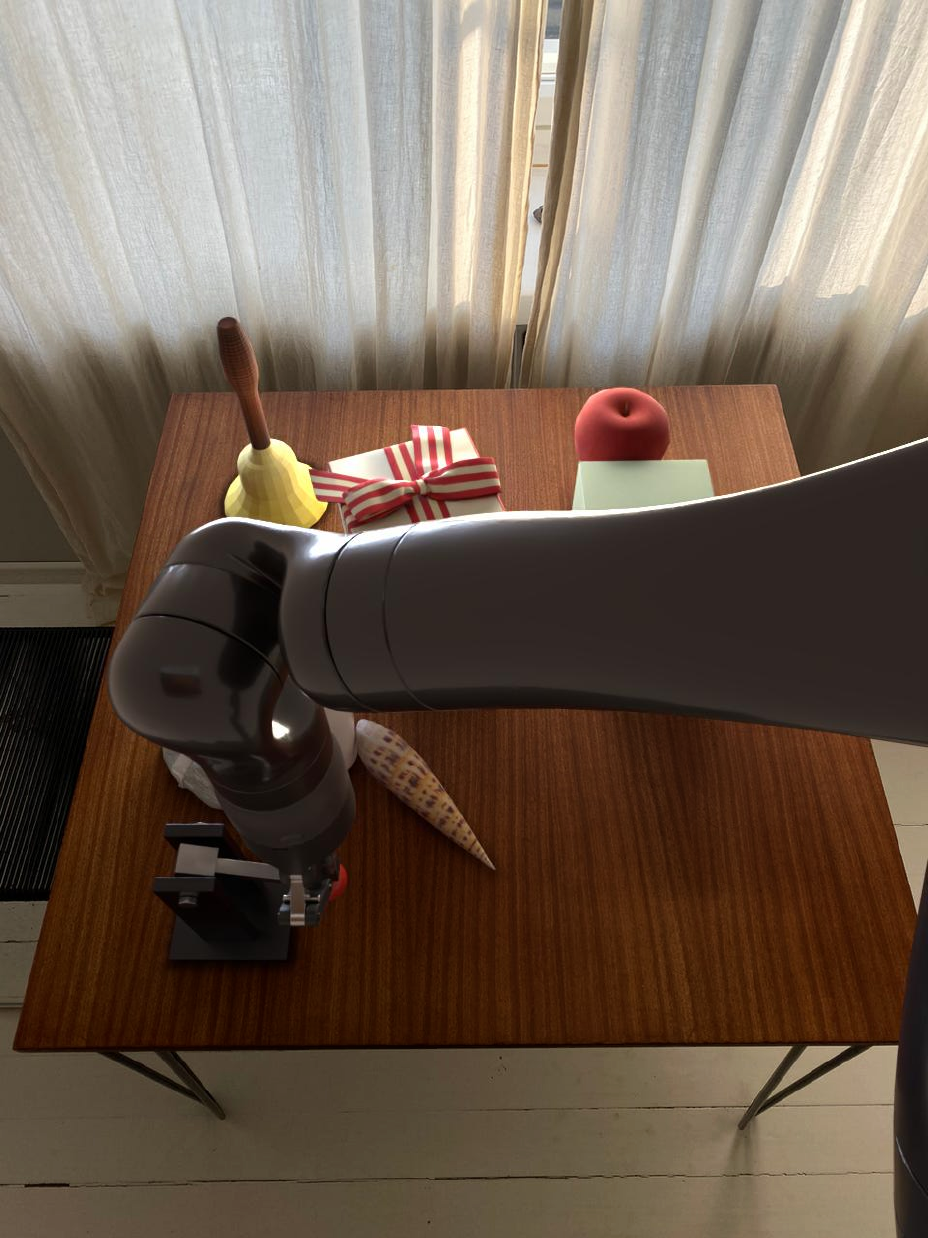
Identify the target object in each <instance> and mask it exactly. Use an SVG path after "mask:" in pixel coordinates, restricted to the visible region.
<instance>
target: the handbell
mask: <svg viewBox="0 0 928 1238" xmlns="http://www.w3.org/2000/svg"><path fill="white" fill-rule="evenodd" d="M215 330H216V341H217V342H216V344H217V346H216V347H217V355H218V358H219V361H220V366H221V369H222V372H223V377H224V378H225V380H226V382H227V384H228V385H229V386H230V387H231V389H232V391H233V392H234V394H235V396H236V398H237V401H238V405H239V407H240V411H241V414H242V417H243V421H244V426H245V429H246V431H247V435H248V439H249V442H250V443H248V445H246V446H245V447H244V448H243V449H242V451H241V452H240V453H239V456H238V459H237V472H238V476H237V477H235V479H234V480H233V481H232V483H231V484H230V486H229V488H228V490H227V492H226V496H225V499H224V513H225V516H226V518H228V517H242V518H250V519H256V520H261V521H266V522H271V523H277V524H283V525H289V526H296V527H303V528H310V529H311V527H312V526H313V525H315V524H316V523H318V522H319V520H320V519H321V518H322V516H323V515H324V513H325V511H326V510H327V507H328V504H329V503H328V502H320V501H318V500H317V499H316V497H315V494H314V490H313V485H312V483H311V478H310V475H309V471H308V469H313V468H312V467H310V465H308V464H305V463H303V462H299V461H298V460H297V457H296V455H295V453H294V451H293V450H292V448H291V447H290V446H289V445H288V444H286V443H285V442H284V441H281V440H278V439H276V438H275V439H274V438H271V436H270V432H269V429H268V426H267V421H266V417H265V414H264V410H263V406H262V403H261V399H260V395H259V390H258V385H259V378H260V375H259V367H258V364H257V363H258V362H257V359H256V356H255V352H254V348H253V344H252V343H251V341H250V339H249V337H248V336H247V333H246V332H245V330H244V327H243V326H242V323H241V322H240V321H239V320H238V318H235V317H233V316H225V317H222V318H221V319H220V320H218V322H217V324H216V326H215Z"/></svg>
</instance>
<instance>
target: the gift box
mask: <svg viewBox="0 0 928 1238" xmlns="http://www.w3.org/2000/svg"><path fill="white" fill-rule="evenodd" d="M410 428H411V430H412V440H409V441H405V442H402V443H398V444H394V445H390V446H386V447H383V448H379V449H374V450H372V451H368V452H367V451H366V452H364V453H360V454H355V455H352V456H347V457H343V458H339V459H336V460H332V461H328V462H326V467H327V471H325V470H319V469H315V468H312V469H308V471H309V475H310V478H311V483H312V485H313V490H314V494H315V497H316V499H317V500H318V501H320V502H328V503H327V504H330V503H331V504H337V506H338V508H339V513H340V518H341V522H342V527H343V532H344V534H349V535H351V534H355V533H360V532H365V531H372V530H377V529H383V528H389V527H395V526H401V525H407V524H413V523H419V522H425V521H429V520H437V519H444V518H451V517H459V516H467V515H475V514H485V513H496V512H507V510H506V508H505V506H504V504H503V502H502V500H501V498H500V496H499V494H502V493H503V491H502V487H501V482H500V479H499V474H498V470H497V466H496V463H495V459H494V458H493V457H491V456H490V457H489V456H484V457H481V456H480V454H479V452H478V450H477V448H476V446H475V444H474V442H473V439H472V438H471V435H470V434H469V431H468V429H467V427H462V428H457V429H453V430H449V427H445V426H439V425H438V426H437V425H436V426H435V425H415V424H410Z"/></svg>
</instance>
